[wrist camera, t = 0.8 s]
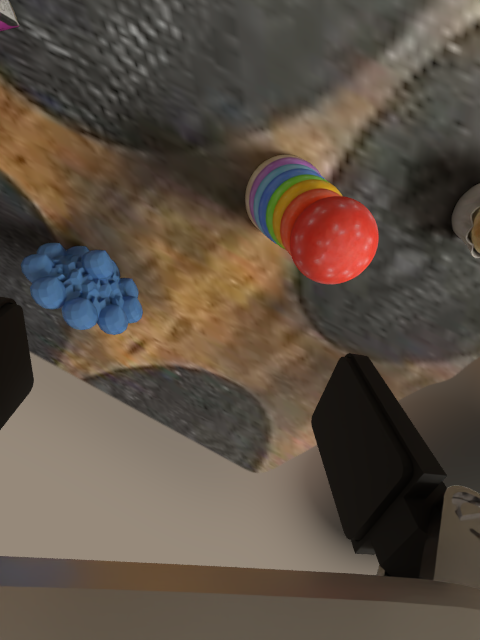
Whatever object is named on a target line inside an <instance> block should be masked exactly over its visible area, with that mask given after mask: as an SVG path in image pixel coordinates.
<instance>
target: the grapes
mask: <svg viewBox="0 0 480 640" xmlns="http://www.w3.org/2000/svg"><path fill="white" fill-rule="evenodd" d="M21 267H22V272H23V274H24V275H25V276H26V278H27V279H28V280H30V281H31V282H32V285H31V287H30V291H31V296H32V297H33V299H34V300H35V302H36V303H37V304H39V305H40V306H42V307H43V308H47V309H56V308H60V307H62V306H63V308H62V314H63V318H64V320H65V321H66V322H67V324H68V325H70V326H71V327H72V328H74V329H79V330H85V329H90V328H92V327H93V326H94V325H96V323H97V324H98V325H99V327H100V328H101V330H103V331H104V332H105V333H107V334H113V335H115V334H120V333H122V332H123V331H125V330H126V329H127V326H128V323H134V322H137V321H138V320H140V319H141V317H142V314H143V311H142V306H141V304H140V302H139V300H138V299H137V298H138V289H137V286H136V285H135V283H134V281H133V280H132V279H129V278H120V273H119V269H118V267H117V265H116V264H115V262H114V261H113V260H111V259H110V257H109V255H108V254H107V252H106V251H105V250H92V251H89V250H88V249H87V247H86V246H74V247H71V248H69V249H67V251H66V250H65V249H64V248H63V246H62V245H61V244H60V243H47V244H44V245H42V246H40V247H39V248H38V251H37V254H33V255H29V256H27V257H26V258H24V259H23V262H22V264H21Z"/></svg>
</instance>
